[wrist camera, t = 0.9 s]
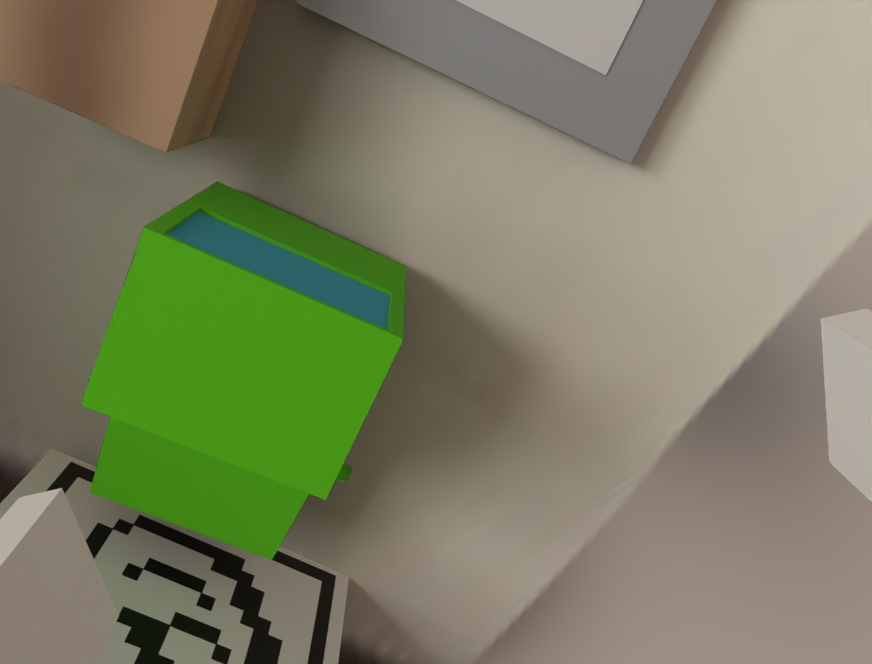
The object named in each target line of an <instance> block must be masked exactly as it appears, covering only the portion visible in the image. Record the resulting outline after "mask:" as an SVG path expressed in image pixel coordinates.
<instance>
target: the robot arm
mask: <svg viewBox="0 0 872 664" xmlns="http://www.w3.org/2000/svg"><path fill="white" fill-rule="evenodd" d="M821 332H822V348H823V365H824V382H825V399H826V416H827V430H828V447H829V462H830V463H831V464H832V465H833V466H834V467H835V468H837V470H838V471H839V472H840V473H841V474H842V475H844V476H845V477H846V478H847V479H848V480H849V481H850V482H851V483H852V484H853V485H854V486H855V487H856V488H857V489H858V490H859V491H860V492H861V493H863V494H864V495H865V496H866V497H867V498H868V499H869V500H870V501H871V502H872V311H870V310H869V309H862V310H857V311H853V312H849V313H844V314H840V315H835V316H831V317H826V318H822V319H821ZM118 617H119V615H118V612H117V610H116V608H115V606H114V603H113V601H112V599H111V597H110V594H109V592H108V590H107V588H106V586H105V583H104V581H103V579H102V577H101V574H100V572H99V570H98V568H97V565H96V563H95V561H94V559H93V556H92V554H91V552H90V550H89V547H88V545H87V543H86V541H85V538H84V536H83V534H82V532H81V529H80V527H79V525H78V523H77V520H76V518H75V516H74V514H73V511H72V509H71V507H70V505H69V502H68V500H67V498H66V496H65V493H64V491H63V489H62V488H59V489H55V490H50V491H46V492H41V493H37V494H32V495H28V496H23V497H19V498H18V499H17V501H16V502H15V503H14V504H13V505H12V506H11V508H10V509H9V510H8V511H7V512H6V513H5V514H4V516H3V517H2V518H1V519H0V664H95V662H96V660H97V658H98V656H99V654H100V652H101V650H102V648H103V646H104V644H105V642H106V640H107V638H108V637H109V635H110V633H111V631H112V629H113V627H114V625H115V623H116V621H117V619H118Z"/></svg>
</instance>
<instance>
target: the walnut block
mask: <svg viewBox="0 0 872 664" xmlns="http://www.w3.org/2000/svg"><path fill="white" fill-rule="evenodd" d="M258 2H259V0H0V80H1V81H3V82H5V83H8V84H10V85H12V86H14V87H17V88H19V89H21V90H24V91H26V92H28V93H30V94H33V95H35V96H37V97H40V98H42V99H44V100H46V101H49V102H51V103H53V104H55V105H58V106H60V107H62V108H65V109H67V110H69V111H71V112H74V113H76V114H78V115H81V116H83V117H85V118H87V119H90V120H92V121H94V122H97V123H99V124H101V125H103V126H106V127H108V128H110V129H113V130H115V131H117V132H119V133H122V134H124V135H126V136H129V137H131V138H133V139H135V140H138V141H140V142H142V143H145V144H147V145H149V146H151V147H154V148H156V149H158V150H161V151H163V152H165V153H167V152H170V151H172V150H175V149H178V148H181V147H183V146H186V145H189V144H192V143H194V142H197V141H200V140H203V139H205V138H208V137H210V136H211V134H212V131H213V128H214V125H215V122H216V120H217V117H218V114H219V111H220V108H221V106H222V103H223V100H224V97H225V94H226V92H227V89H228V86H229V83H230V80H231V77H232V75H233V72H234V69H235V66H236V63H237V61H238V58H239V55H240V52H241V49H242V47H243V44H244V41H245V38H246V35H247V32H248V30H249V27H250V24H251V21H252V18H253V16H254V13H255V10H256V7H257V4H258Z"/></svg>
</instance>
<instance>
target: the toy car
mask: <svg viewBox="0 0 872 664" xmlns="http://www.w3.org/2000/svg"><path fill="white" fill-rule="evenodd" d="M405 288H406V266H404V265H402V264H400V263H398V262H396V261H393V260H391V259H389V258H387V257H384V256H382V255H380V254H378V253H375V252H373V251H371V250H369V249H367V248H364V247H362V246H360V245H358V244H355V243H353V242H351V241H349V240H346V239H344V238H342V237H340V236H338V235H335V234H333V233H331V232H329V231H326V230H324V229H322V228H320V227H317V226H315V225H313V224H311V223H309V222H306V221H304V220H302V219H300V218H297V217H295V216H293V215H291V214H288V213H286V212H284V211H282V210H280V209H277V208H275V207H273V206H271V205H268V204H266V203H264V202H262V201H259V200H257V199H255V198H253V197H251V196H248V195H246V194H244V193H242V192H239V191H237V190H235V189H233V188H230V187H228V186H226V185H224V184H222V183H219V182H216V183H214V184H213V185H211V186H210V187H208V188H206V189H205V190H203V191H201V192H200V193H198V194H197V195H195V196H193V197H192V198H190V199H189V200H187V201H185V202H184V203H182V204H180V205H179V206H177V207H176V208H174V209H172V210H171V211H169V212H168V213H166V214H164V215H163V216H161V217H159V218H158V219H156V220H155V221H153V222H151V223H150V224H148V225H147V226H145V227H144V228H143V231H142V234H141V237H140V239H139V242H138V245H137V248H136V251H135V253H134V256H133V259H132V262H131V265H130V268H129V270H128V273H127V276H126V279H125V282H124V284H123V287H122V290H121V293H120V296H119V298H118V301H117V304H116V307H115V310H114V313H113V315H112V318H111V321H110V324H109V327H108V329H107V332H106V335H105V338H104V341H103V344H102V346H101V349H100V352H99V355H98V358H97V360H96V363H95V366H94V369H93V372H92V375H91V377H90V379H89V381H88V382H89V383H88V386H87V389H86V391H85V394H84V397H83V400H82V403H81V406H84V407H86V408H89V409H92V410H94V411H97V412H99V413H102V414H104V415H107V416H110V419H109V423H108V427H107V430H106V434H105V438H104V441H103V445H102V448H101V452H100V456H99V459H98V463H97V467H96V470H95V474H94V478H93V481H92V485H91V488H90V493H92V494H95V495H97V496H100V497H103V498H105V499H108V500H111V501H113V502H116V503H119V504H122V505H124V506H127V507H130V508H132V509H135V510H138V511H141V512H143V513H146V514H149V515H151V516H154V517H157V518H159V519H162V520H165V521H168V522H170V523H173V524H176V525H178V526H181V527H184V528H187V529H189V530H192V531H195V532H197V533H200V534H203V535H205V536H208V537H211V538H214V539H216V540H219V541H222V542H224V543H227V544H230V545H233V546H235V547H238V548H241V549H243V550H246V551H249V552H251V553H254V554H257V555H260V556H262V557H265V558H268V559H271V560H272V559H273V557H274V555H275V554H276V552H277V550H278V548H279V547H280V545H281V543H282V541H283V539H284V538H285V536H286V534H287V532H288V531H289V529H290V527H291V525H292V523H293V522H294V520H295V518H296V516H297V515H298V513H299V511H300V509H301V507H302V506H303V504H304V502H305V500H306V498H307V497H308V495H309V494H311V495H313V496H316V497H319V498H321V499H324V500H326V498H327V496H328V494H329V492H330V490H331V488H332V486H333V484H334V482H335V480H338V481H340V482H343V483H346V481H347V479H348V476H349V474H350V472H351V470H352V467H351V466H348V465H346V464H343V463H344V461H345V459H346V457H347V455H348V453H349V451H350V449H351V447H352V445H353V443H354V441H355V438H356V436H357V434H358V432H359V430H360V428H361V426H362V424H363V422H364V420H365V418H366V416H367V414H368V412H369V410H370V408H371V405H372V403H373V401H374V399H375V397H376V395H377V393H378V391H379V389H380V387H381V385H382V383H383V381H384V379H385V377H386V374H387V372H388V370H389V368H390V366H391V364H392V362H393V360H394V358H395V356H396V354H397V352H398V350H399V348H400V346H401V343H402V341H403V339H404V314H405Z"/></svg>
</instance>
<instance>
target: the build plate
mask: <svg viewBox="0 0 872 664" xmlns="http://www.w3.org/2000/svg"><path fill="white" fill-rule="evenodd" d="M716 1H717V0H297V2H296V3H297V4H299V5H301V6H303V7H305V8H307V9H309V10H311V11H313V12H315V13H318V14H320V15H322V16H324V17H326V18H328V19H330V20H332V21H334V22H336V23H338V24H340V25H342V26H345V27H347V28H349V29H351V30H353V31H355V32H357V33H359V34H361V35H363V36H365V37H367V38H369V39H372V40H374V41H376V42H378V43H380V44H382V45H384V46H386V47H388V48H390V49H392V50H394V51H396V52H399V53H401V54H403V55H405V56H407V57H409V58H411V59H413V60H415V61H417V62H419V63H421V64H423V65H426V66H428V67H430V68H432V69H434V70H436V71H438V72H440V73H442V74H444V75H446V76H448V77H450V78H453V79H455V80H457V81H459V82H461V83H463V84H465V85H467V86H469V87H471V88H473V89H475V90H477V91H480V92H482V93H484V94H486V95H488V96H490V97H492V98H494V99H496V100H498V101H500V102H502V103H504V104H507V105H509V106H511V107H513V108H515V109H517V110H519V111H521V112H523V113H525V114H527V115H529V116H531V117H534V118H536V119H538V120H540V121H542V122H544V123H546V124H548V125H550V126H552V127H554V128H556V129H558V130H561V131H563V132H565V133H567V134H569V135H571V136H573V137H575V138H577V139H579V140H581V141H583V142H585V143H588V144H590V145H592V146H594V147H596V148H598V149H600V150H602V151H604V152H606V153H608V154H610V155H612V156H615V157H617V158H619V159H621V160H623V161H625V162H627V163H629V164H631V162H632V160H633V158H634V156H635V154H636V153H637V151H638V149H639V147H640V145H641V143H642V141H643V139H644V137H645V135H646V134H647V132H648V130H649V128H650V126H651V124H652V122H653V120H654V118H655V116H656V115H657V113H658V111H659V109H660V107H661V105H662V103H663V101H664V99H665V97H666V96H667V94H668V92H669V90H670V88H671V86H672V84H673V82H674V80H675V78H676V77H677V75H678V73H679V71H680V69H681V67H682V65H683V63H684V61H685V59H686V58H687V56H688V54H689V52H690V50H691V48H692V46H693V44H694V42H695V40H696V39H697V37H698V35H699V33H700V31H701V29H702V27H703V25H704V23H705V22H706V20H707V18H708V16H709V14H710V12H711V10H712V8H713V6H714V4H715V3H716Z"/></svg>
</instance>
